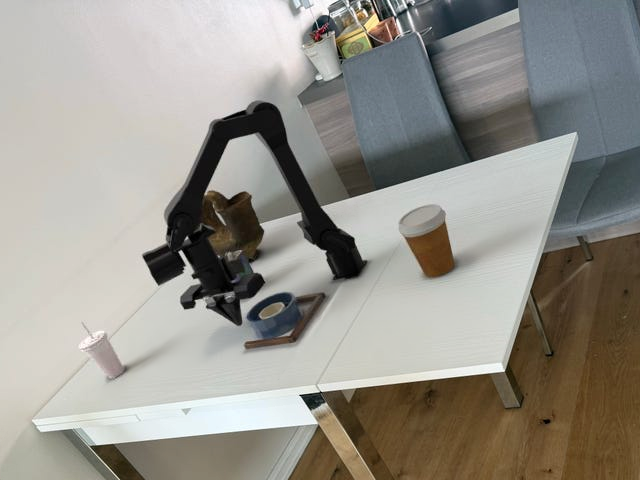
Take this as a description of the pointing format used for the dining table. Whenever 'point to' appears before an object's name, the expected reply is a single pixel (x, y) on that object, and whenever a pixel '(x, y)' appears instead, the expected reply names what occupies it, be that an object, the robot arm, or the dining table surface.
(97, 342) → the smoothie
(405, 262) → the dining table surface
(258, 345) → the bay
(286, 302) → the blue-grey round ring piece
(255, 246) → the pottery vessel
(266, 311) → the small bowl
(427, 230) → the disposable coffee cup
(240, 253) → the flask
